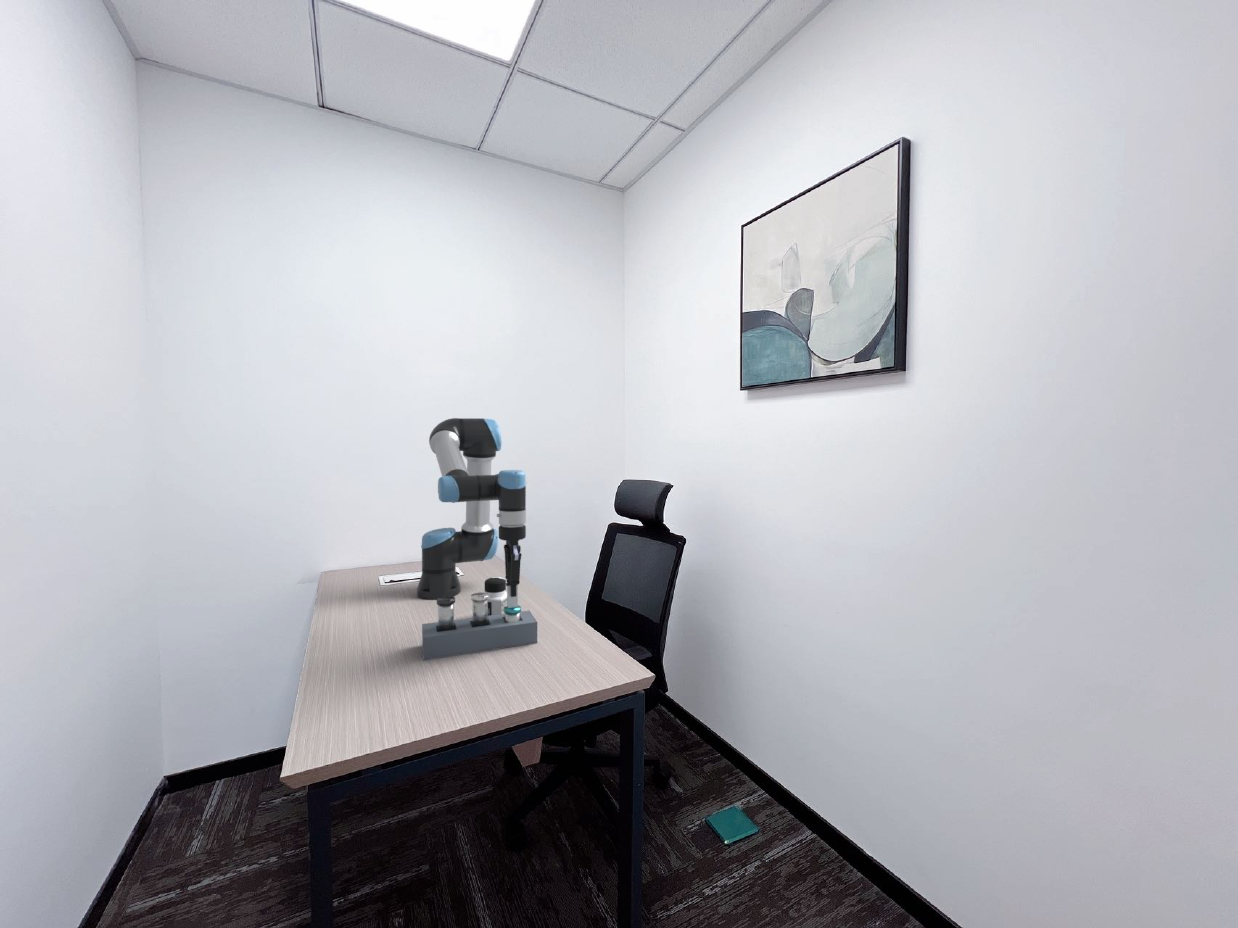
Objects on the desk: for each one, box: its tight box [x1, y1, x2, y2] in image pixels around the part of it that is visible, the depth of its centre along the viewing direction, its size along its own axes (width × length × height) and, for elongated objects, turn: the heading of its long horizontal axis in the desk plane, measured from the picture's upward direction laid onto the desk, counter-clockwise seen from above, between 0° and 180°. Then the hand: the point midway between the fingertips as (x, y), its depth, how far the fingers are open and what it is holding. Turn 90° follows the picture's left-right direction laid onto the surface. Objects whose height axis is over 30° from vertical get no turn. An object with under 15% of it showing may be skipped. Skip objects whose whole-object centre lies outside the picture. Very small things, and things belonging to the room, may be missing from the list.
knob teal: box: [504, 604, 522, 623], centre depth 145 cm, size 5×5×8 cm
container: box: [484, 576, 507, 616], centre depth 160 cm, size 8×8×13 cm
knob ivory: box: [470, 592, 489, 627], centre depth 141 cm, size 5×5×8 cm
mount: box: [421, 610, 538, 661], centre depth 141 cm, size 10×30×6 cm, turn 113°
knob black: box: [436, 596, 456, 632], centre depth 137 cm, size 5×5×8 cm
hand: (512, 606), depth 144 cm, fingers closed
